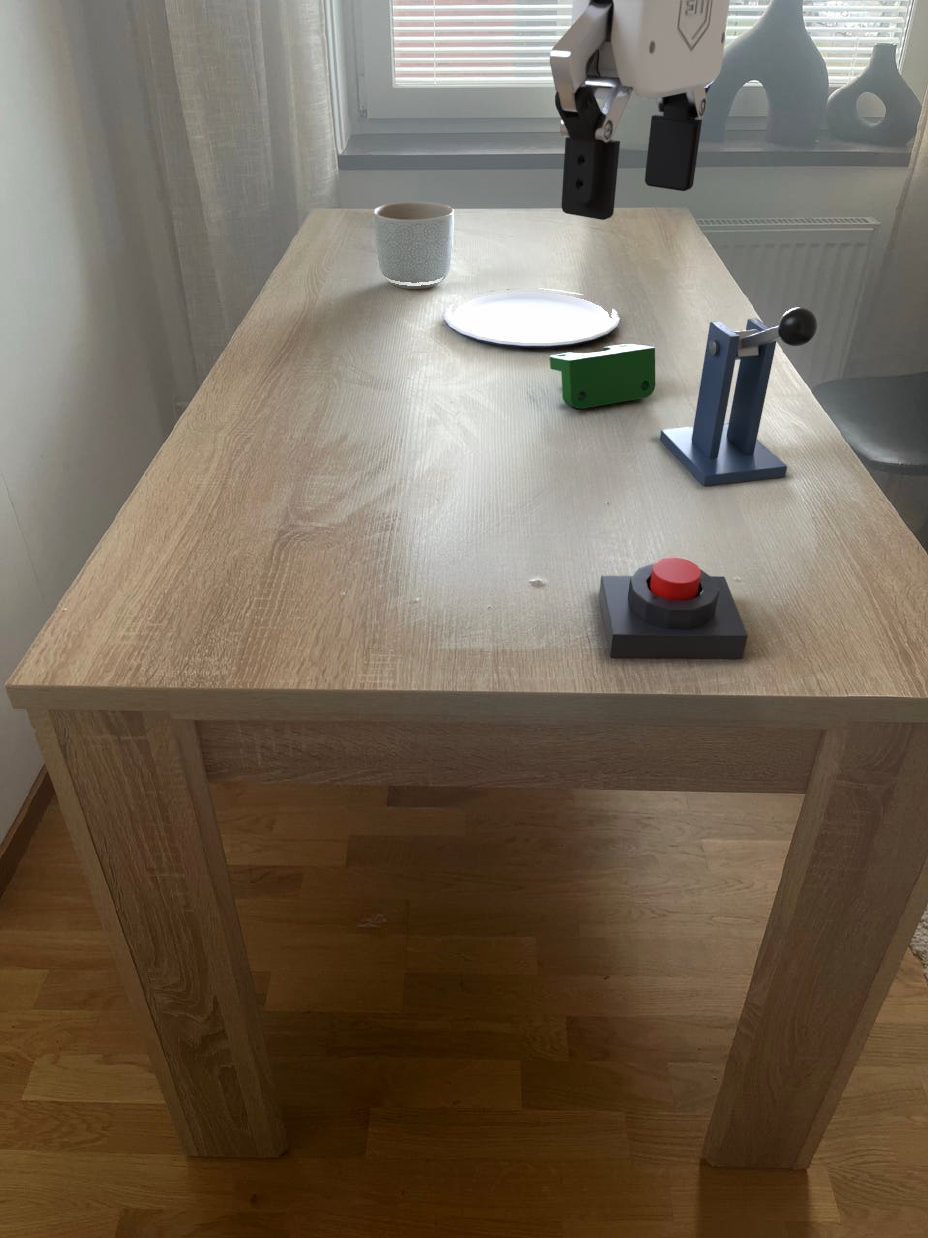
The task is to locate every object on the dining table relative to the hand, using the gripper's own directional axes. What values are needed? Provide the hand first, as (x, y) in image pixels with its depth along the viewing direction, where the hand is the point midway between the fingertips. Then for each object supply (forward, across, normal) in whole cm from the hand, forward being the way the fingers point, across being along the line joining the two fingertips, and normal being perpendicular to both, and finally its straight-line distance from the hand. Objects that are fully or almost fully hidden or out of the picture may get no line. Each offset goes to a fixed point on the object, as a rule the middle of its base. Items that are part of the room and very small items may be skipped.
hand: (629, 200), depth 56 cm
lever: (+18, +29, 0) cm, 34 cm away
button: (+27, +2, -6) cm, 28 cm away
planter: (+31, +60, +70) cm, 97 cm away
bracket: (+31, +32, +4) cm, 45 cm away
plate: (+31, +55, +44) cm, 77 cm away
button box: (+31, +2, -6) cm, 31 cm away
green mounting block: (+31, +38, +23) cm, 54 cm away
